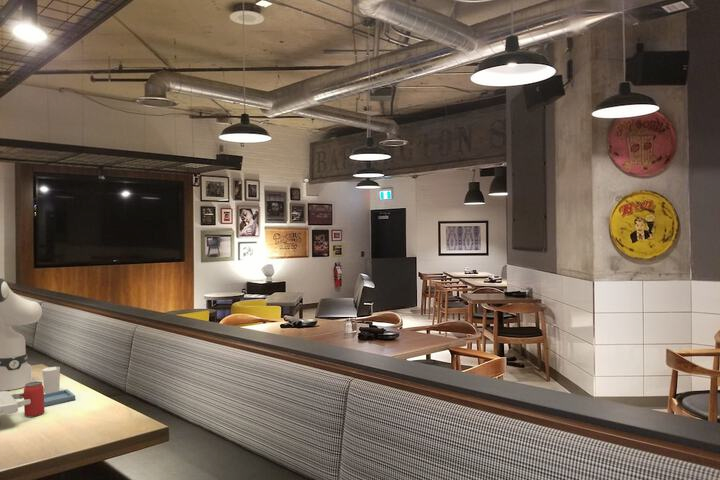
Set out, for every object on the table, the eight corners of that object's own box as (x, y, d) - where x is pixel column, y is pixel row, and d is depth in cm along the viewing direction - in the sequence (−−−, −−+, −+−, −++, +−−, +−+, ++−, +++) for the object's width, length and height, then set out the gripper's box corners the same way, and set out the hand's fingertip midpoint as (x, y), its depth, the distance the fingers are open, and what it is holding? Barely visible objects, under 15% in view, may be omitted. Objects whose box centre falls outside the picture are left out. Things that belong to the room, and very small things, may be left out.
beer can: (34, 418, 196) (33, 386, 195) (20, 417, 197) (19, 385, 197) (48, 411, 202) (47, 381, 202) (34, 411, 203) (33, 380, 203)
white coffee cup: (64, 389, 230) (63, 367, 230) (51, 394, 224) (50, 371, 224) (52, 388, 232) (51, 366, 232) (39, 393, 226) (38, 370, 226)
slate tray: (35, 400, 216) (35, 395, 216) (67, 393, 224) (67, 389, 224) (42, 407, 207) (42, 402, 207) (75, 400, 216) (75, 395, 216)
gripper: (-13, 405, 181) (33, 396, 190) (-22, 392, 196) (21, 384, 205) (-13, 423, 181) (33, 413, 191) (-21, 408, 196) (22, 400, 205)
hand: (27, 398), depth 198 cm, fingers open, 8 cm apart
